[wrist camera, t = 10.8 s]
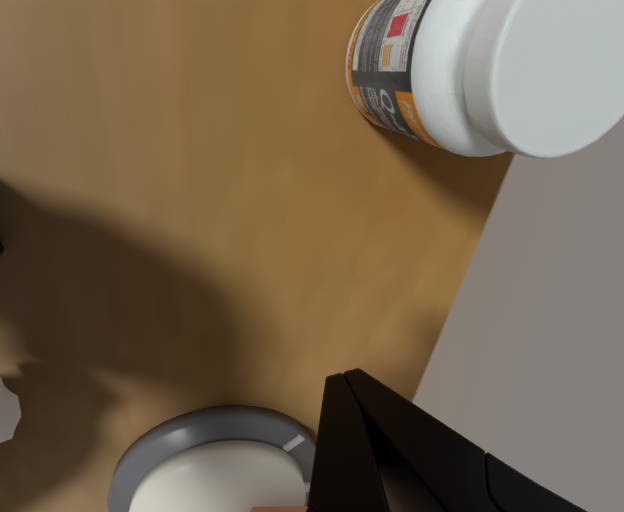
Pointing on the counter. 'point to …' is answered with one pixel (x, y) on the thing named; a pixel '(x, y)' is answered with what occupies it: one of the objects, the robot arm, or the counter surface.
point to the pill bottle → (491, 73)
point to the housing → (209, 429)
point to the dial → (223, 480)
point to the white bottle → (8, 413)
